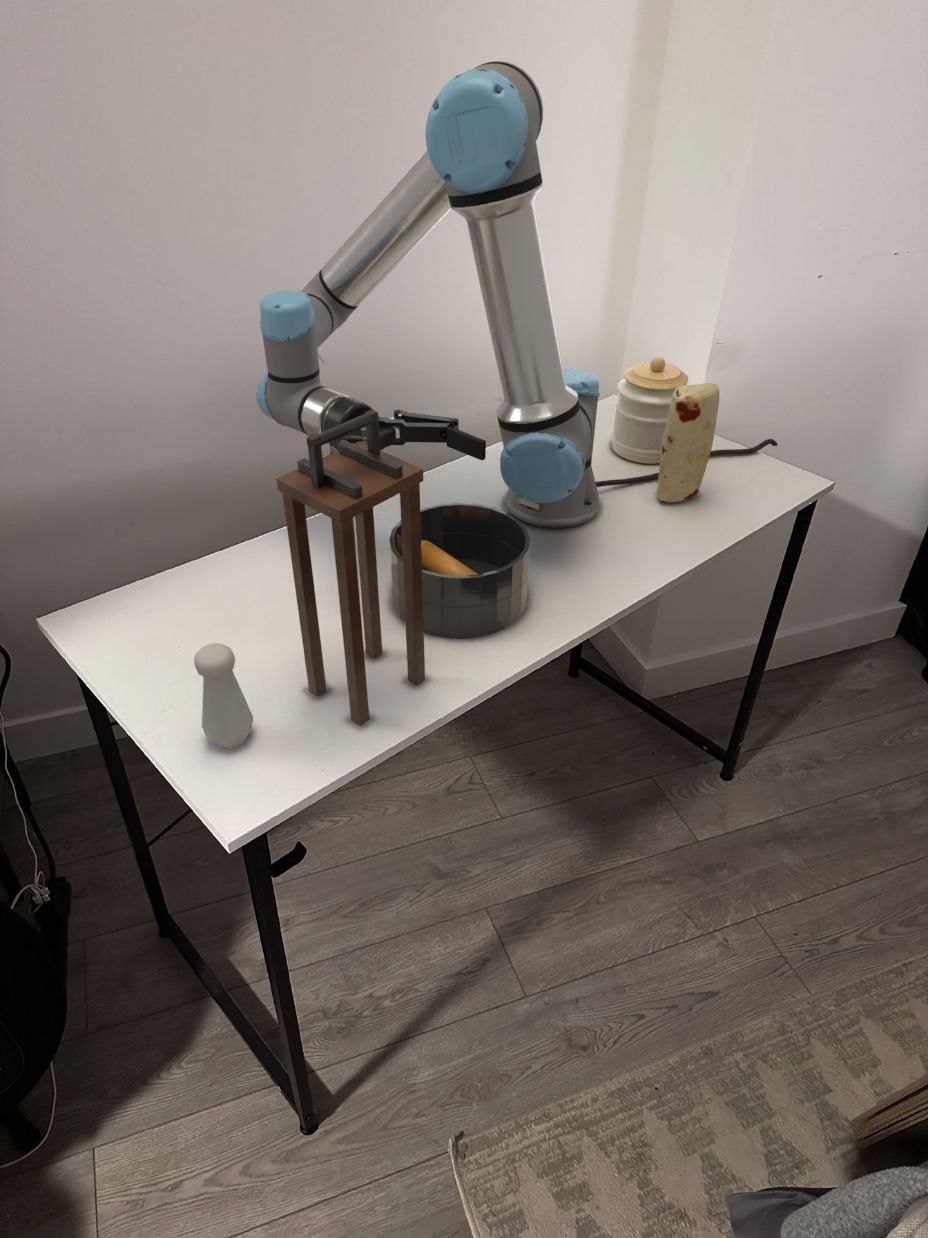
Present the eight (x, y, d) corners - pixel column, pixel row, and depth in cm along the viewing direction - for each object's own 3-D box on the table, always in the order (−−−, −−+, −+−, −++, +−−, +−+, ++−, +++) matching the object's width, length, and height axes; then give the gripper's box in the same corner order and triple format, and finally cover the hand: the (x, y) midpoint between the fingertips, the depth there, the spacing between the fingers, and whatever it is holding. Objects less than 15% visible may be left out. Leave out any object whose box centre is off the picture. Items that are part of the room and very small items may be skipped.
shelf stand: (305, 691, 111) (269, 429, 90) (374, 646, 118) (356, 394, 97) (359, 728, 106) (335, 460, 84) (428, 679, 113) (422, 420, 92)
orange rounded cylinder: (403, 563, 129) (405, 542, 127) (422, 552, 132) (424, 531, 129) (479, 617, 123) (483, 595, 120) (498, 604, 125) (502, 583, 123)
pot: (512, 555, 136) (515, 498, 130) (539, 632, 121) (543, 571, 115) (387, 565, 134) (384, 507, 128) (399, 644, 119) (396, 583, 113)
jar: (609, 432, 171) (620, 342, 160) (677, 435, 170) (692, 345, 159) (611, 463, 161) (622, 369, 150) (683, 467, 159) (700, 373, 149)
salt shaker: (237, 760, 102) (219, 674, 94) (195, 746, 103) (174, 661, 95) (264, 726, 106) (249, 642, 98) (224, 714, 108) (205, 630, 100)
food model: (671, 512, 147) (690, 398, 134) (643, 496, 151) (659, 384, 139) (712, 496, 151) (734, 384, 139) (684, 480, 155) (703, 371, 143)
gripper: (402, 418, 137) (509, 461, 126) (276, 475, 122) (384, 529, 111) (400, 371, 132) (511, 411, 121) (269, 425, 117) (381, 476, 106)
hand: (450, 468), depth 116 cm, fingers open, 13 cm apart
